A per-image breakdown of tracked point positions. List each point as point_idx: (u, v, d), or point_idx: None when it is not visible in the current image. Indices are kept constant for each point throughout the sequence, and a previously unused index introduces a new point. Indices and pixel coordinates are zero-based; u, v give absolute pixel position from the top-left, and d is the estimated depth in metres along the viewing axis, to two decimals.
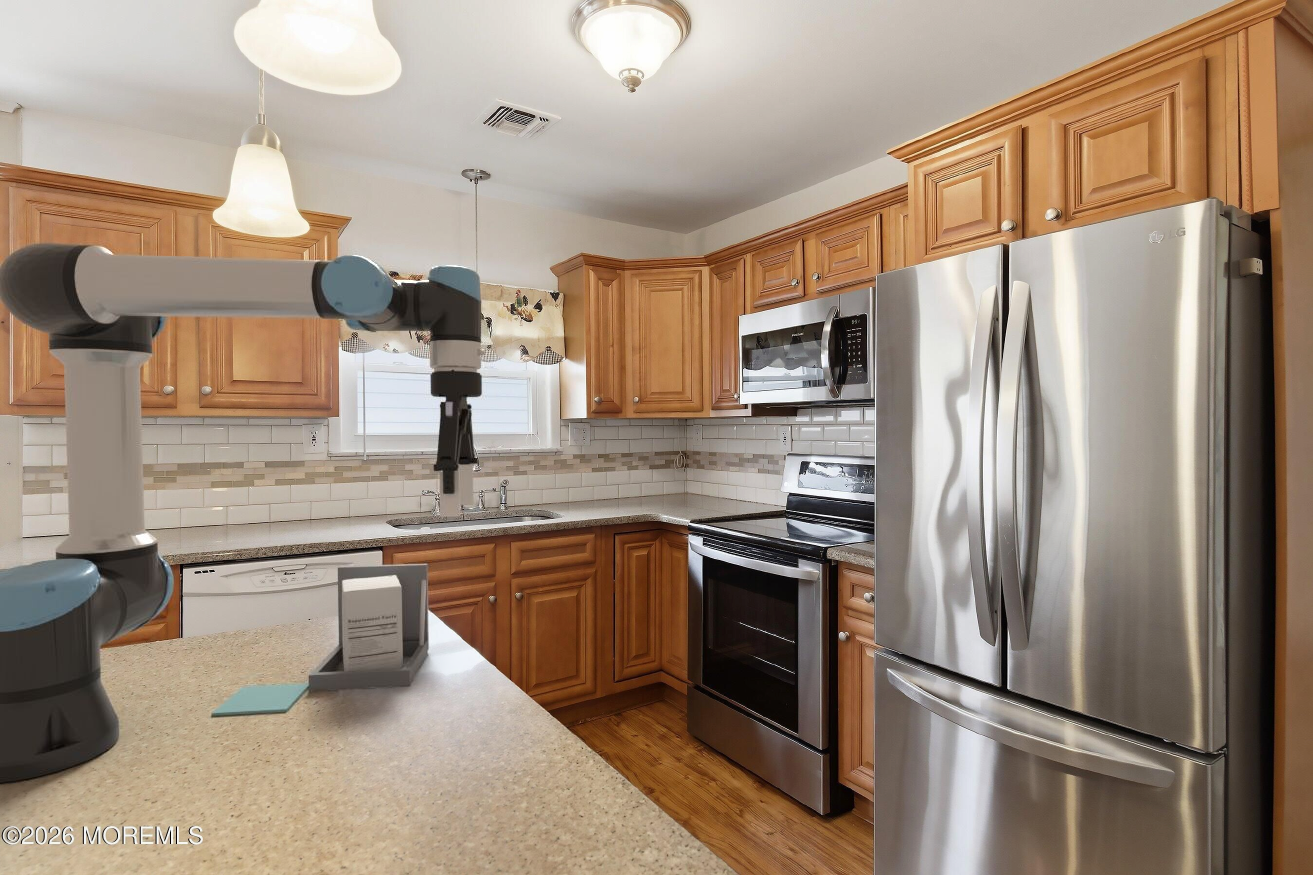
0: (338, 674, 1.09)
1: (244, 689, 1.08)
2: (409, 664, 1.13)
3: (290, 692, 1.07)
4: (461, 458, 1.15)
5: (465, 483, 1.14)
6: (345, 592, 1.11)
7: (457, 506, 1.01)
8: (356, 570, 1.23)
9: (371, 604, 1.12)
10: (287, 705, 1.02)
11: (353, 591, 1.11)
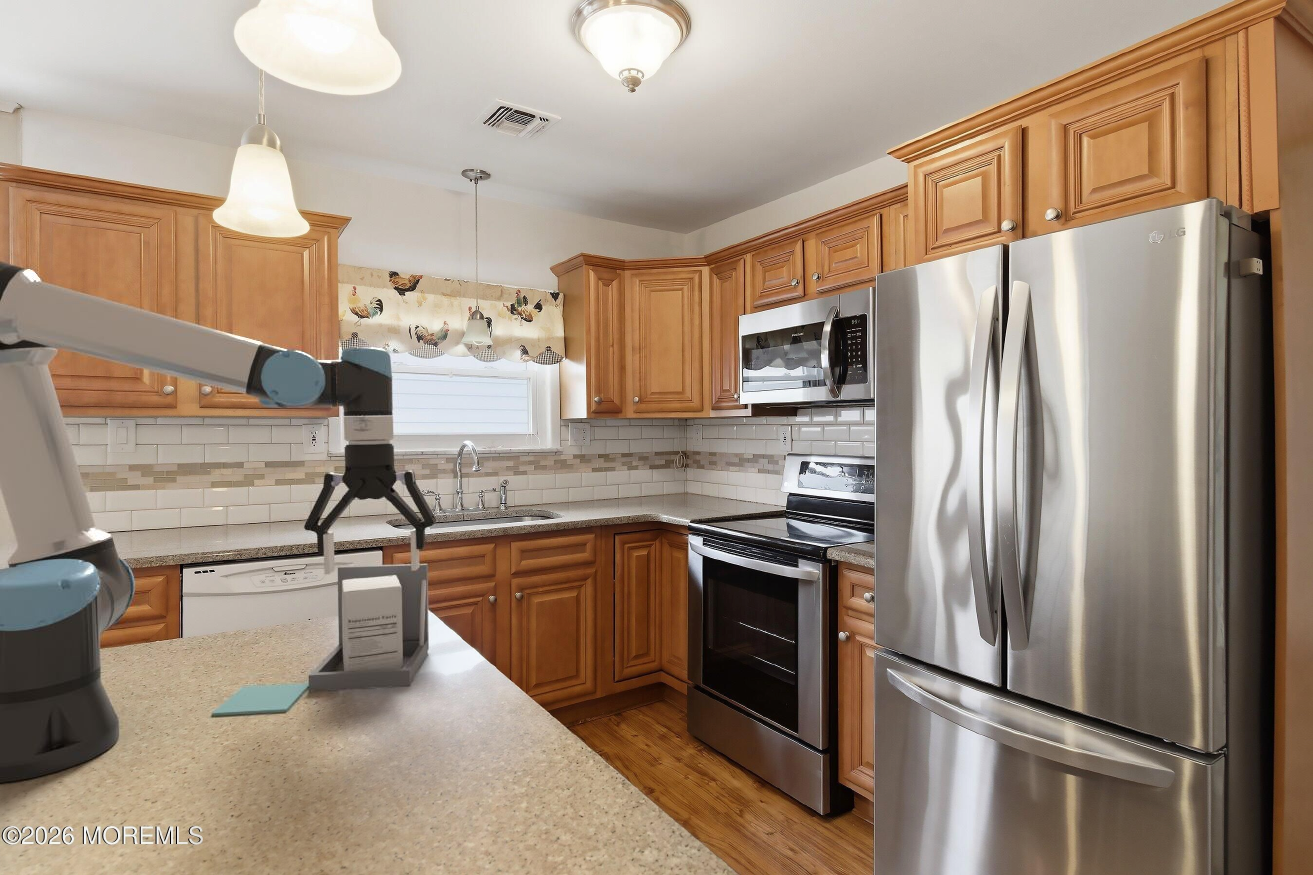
0: (338, 674, 1.09)
1: (244, 689, 1.08)
2: (409, 664, 1.13)
3: (290, 692, 1.07)
4: None
5: None
6: (345, 592, 1.11)
7: (324, 565, 1.14)
8: (356, 570, 1.23)
9: (371, 604, 1.12)
10: (287, 705, 1.02)
11: (353, 591, 1.11)
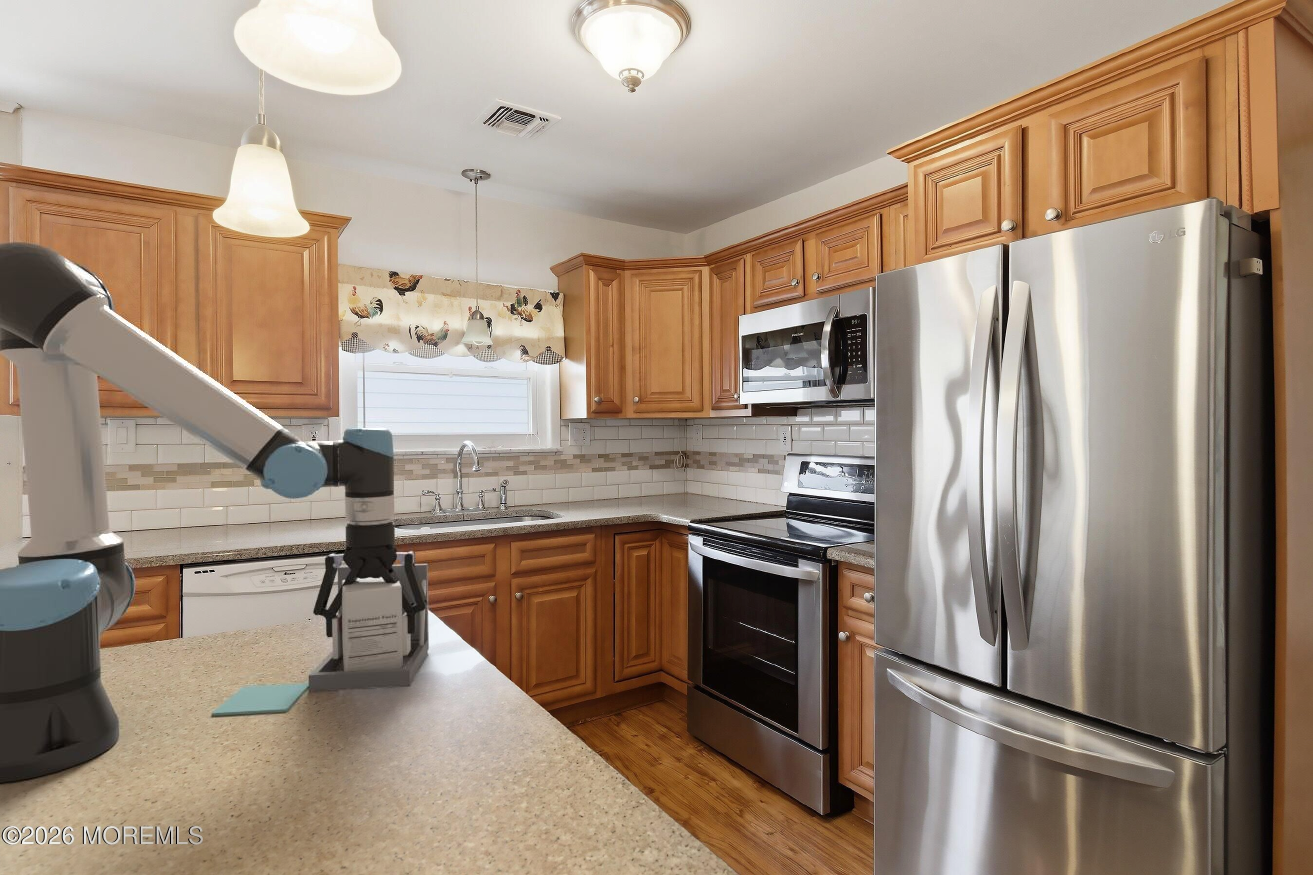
0: (338, 674, 1.09)
1: (244, 689, 1.08)
2: (409, 664, 1.13)
3: (290, 692, 1.07)
4: None
5: None
6: (345, 592, 1.11)
7: (333, 649, 1.15)
8: None
9: (371, 603, 1.12)
10: (287, 705, 1.02)
11: (353, 591, 1.11)
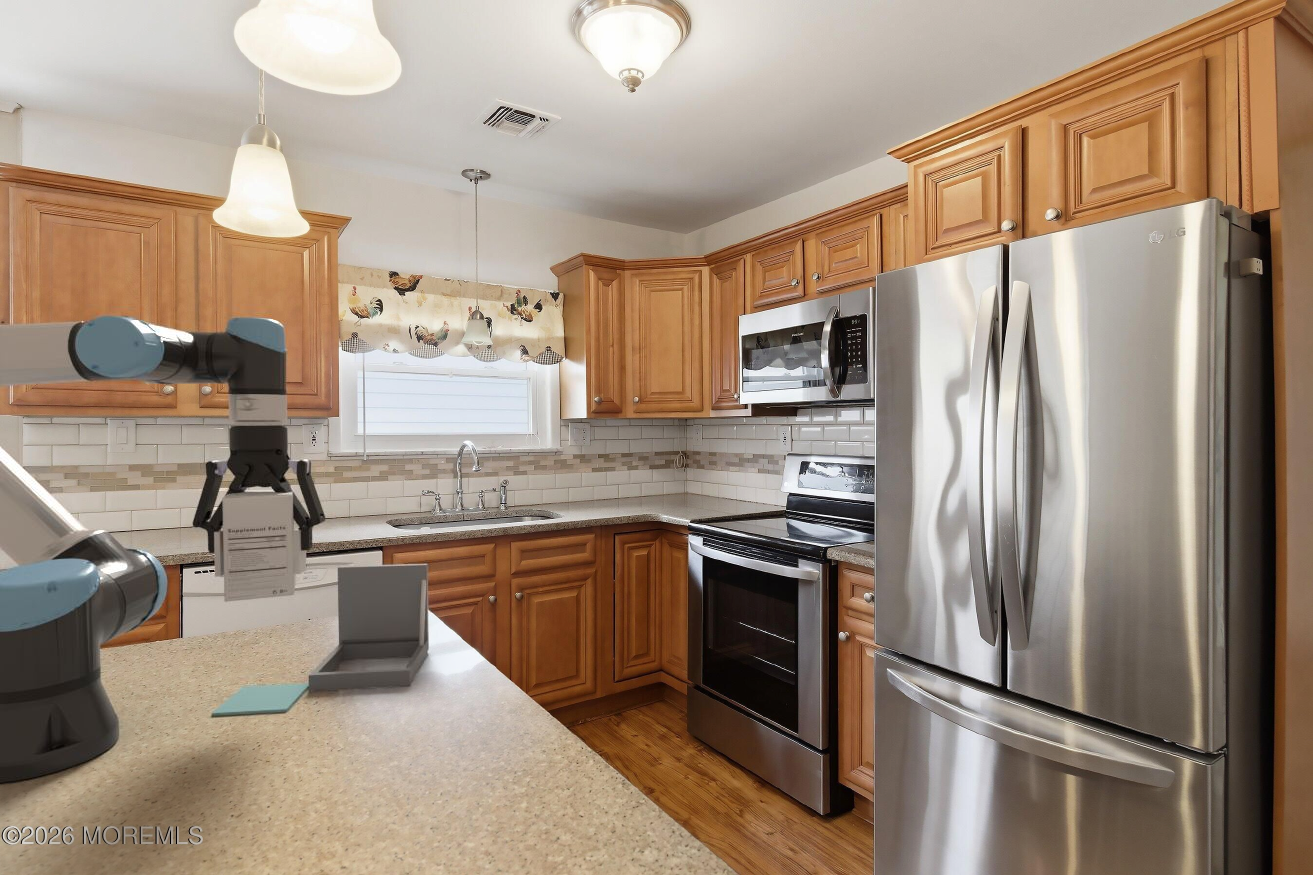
0: (338, 674, 1.09)
1: (244, 689, 1.08)
2: (409, 664, 1.13)
3: (290, 692, 1.07)
4: None
5: None
6: (224, 498, 0.99)
7: (215, 566, 1.03)
8: (356, 570, 1.23)
9: (255, 512, 1.00)
10: (287, 705, 1.02)
11: (234, 497, 0.99)
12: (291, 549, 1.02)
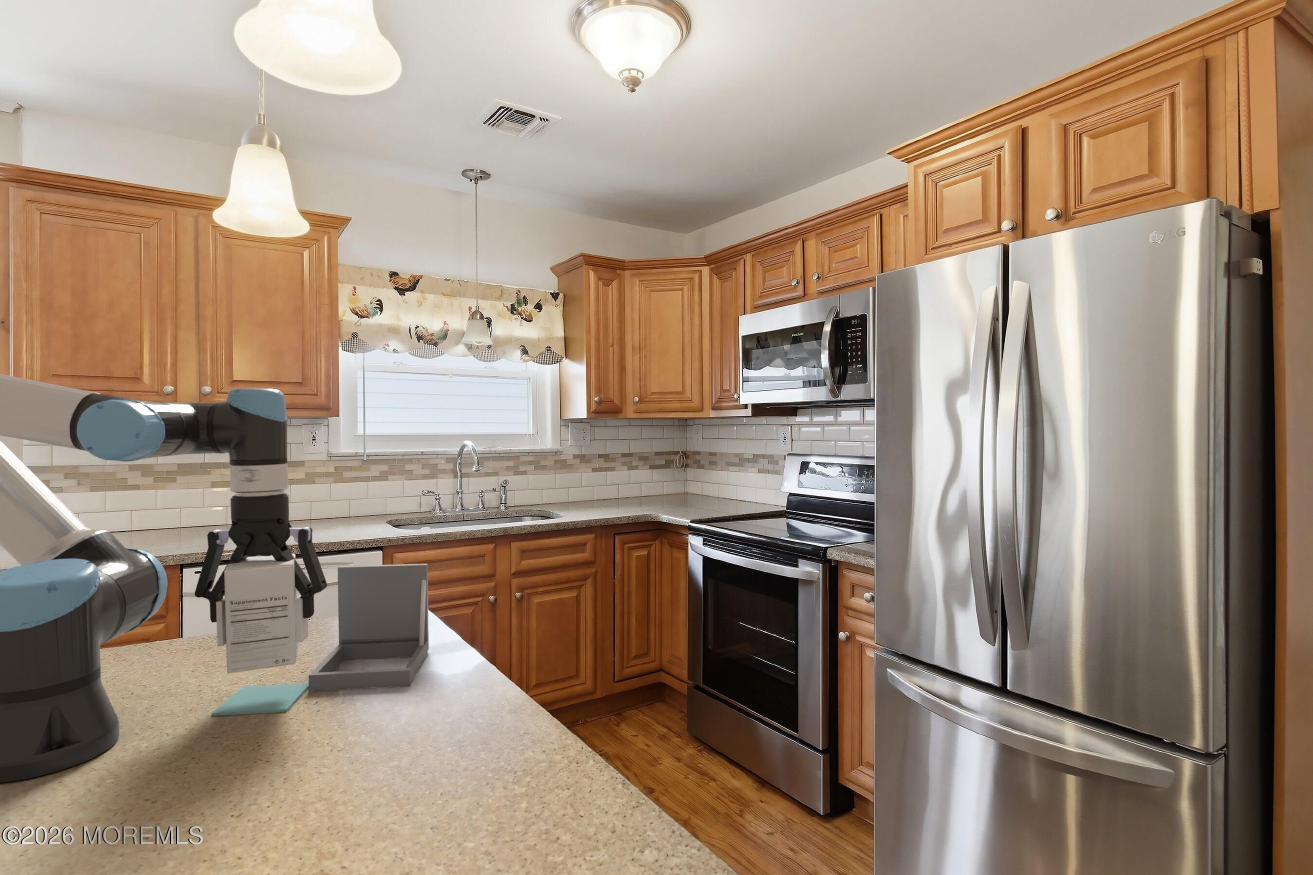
0: (338, 674, 1.09)
1: (244, 689, 1.08)
2: (409, 664, 1.13)
3: (290, 692, 1.07)
4: None
5: None
6: (226, 570, 0.99)
7: (217, 635, 1.03)
8: (356, 570, 1.23)
9: (257, 583, 1.00)
10: (287, 705, 1.02)
11: (236, 569, 0.99)
12: (293, 618, 1.03)
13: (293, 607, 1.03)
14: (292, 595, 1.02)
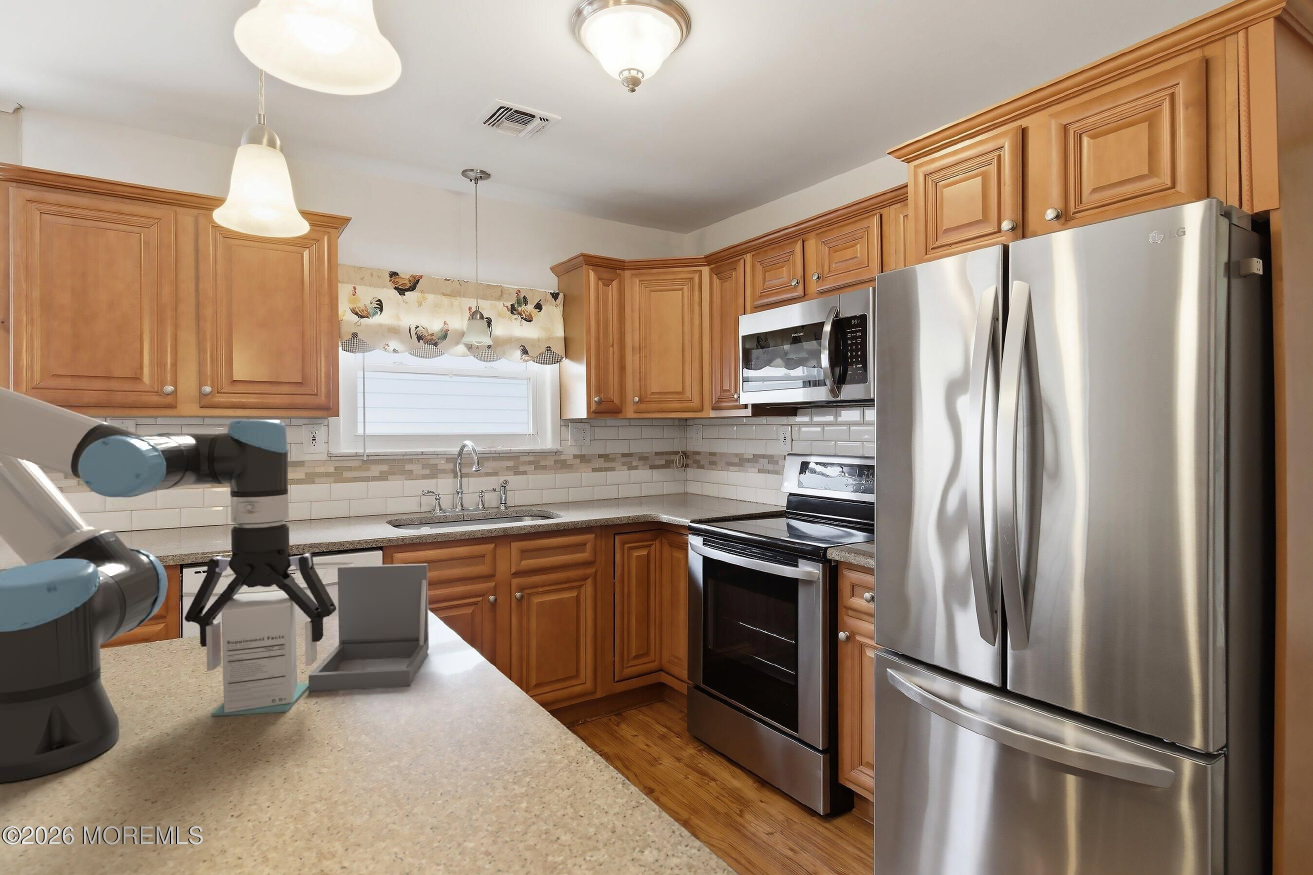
0: (338, 674, 1.09)
1: None
2: (409, 664, 1.13)
3: None
4: None
5: None
6: (223, 610, 0.99)
7: (207, 660, 1.03)
8: (356, 570, 1.23)
9: (254, 623, 1.00)
10: (287, 705, 1.02)
11: (233, 609, 1.00)
12: (290, 657, 1.02)
13: (290, 646, 1.03)
14: (289, 634, 1.02)
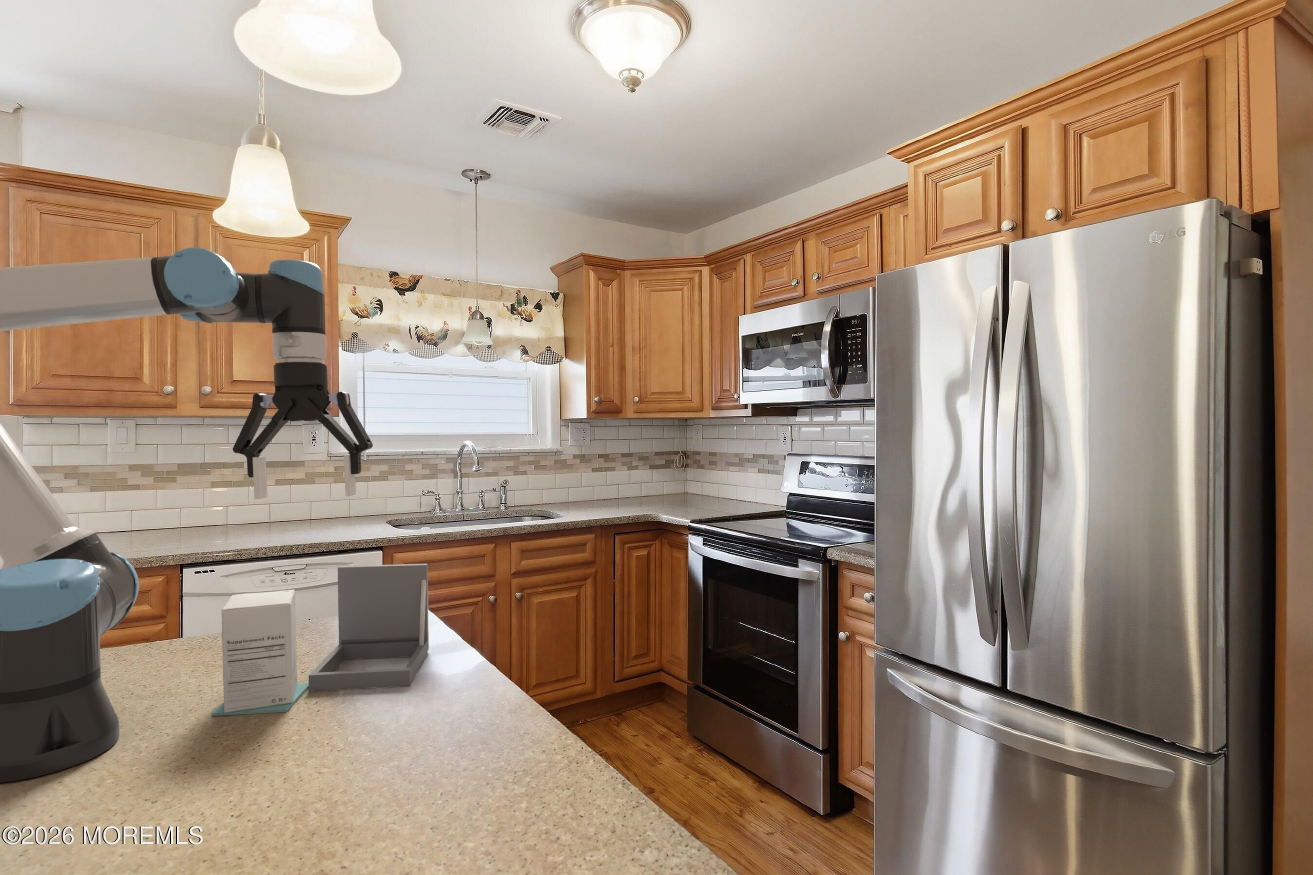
0: (338, 674, 1.09)
1: None
2: (409, 664, 1.13)
3: None
4: None
5: None
6: (223, 610, 0.99)
7: (254, 489, 1.09)
8: (356, 570, 1.23)
9: (254, 623, 1.00)
10: (287, 705, 1.02)
11: (233, 609, 1.00)
12: (290, 657, 1.02)
13: (290, 646, 1.03)
14: (289, 634, 1.02)
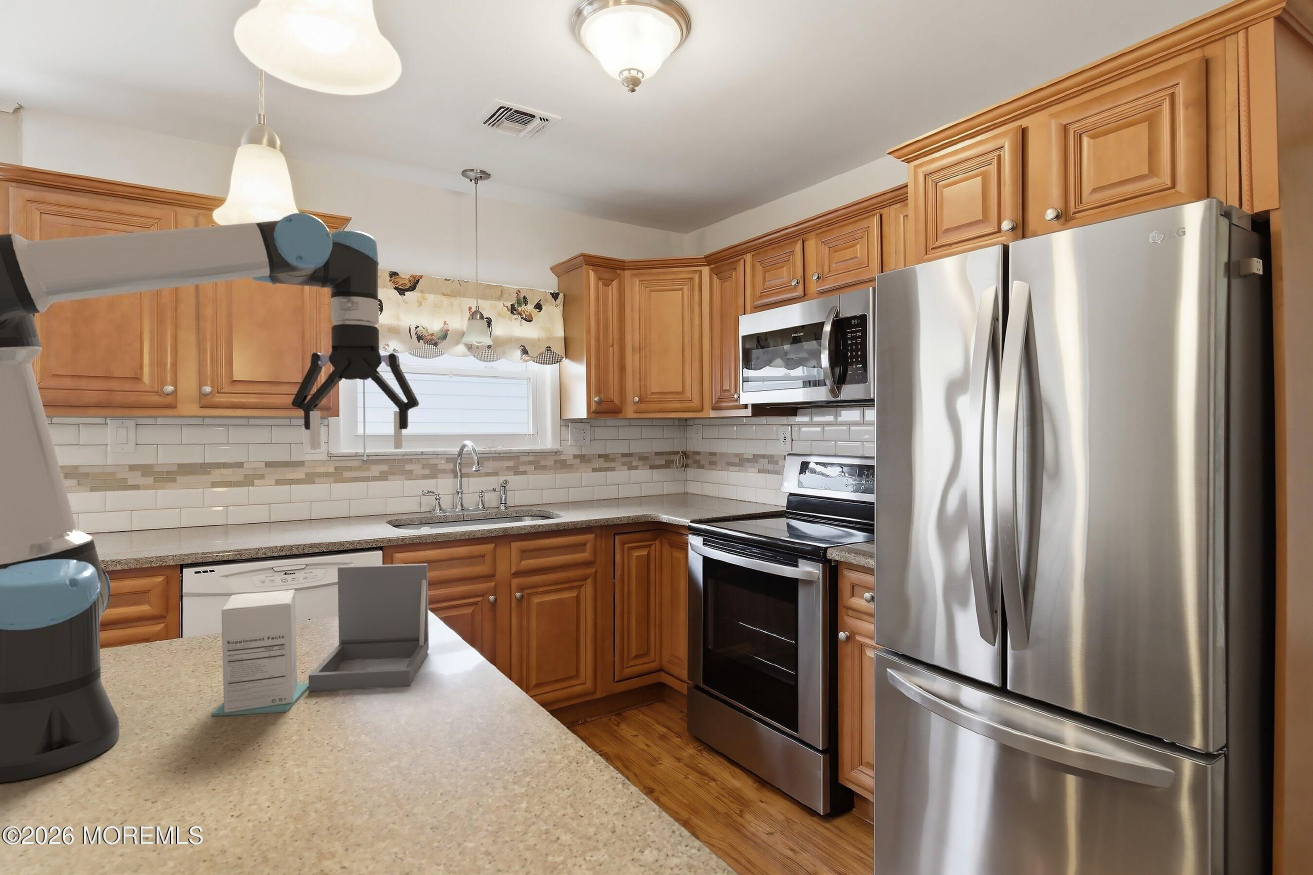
0: (338, 674, 1.09)
1: None
2: (409, 664, 1.13)
3: None
4: None
5: None
6: (223, 610, 0.99)
7: (310, 440, 1.19)
8: (356, 570, 1.23)
9: (254, 623, 1.00)
10: (287, 705, 1.02)
11: (233, 609, 1.00)
12: (290, 657, 1.02)
13: (290, 646, 1.03)
14: (289, 634, 1.02)
